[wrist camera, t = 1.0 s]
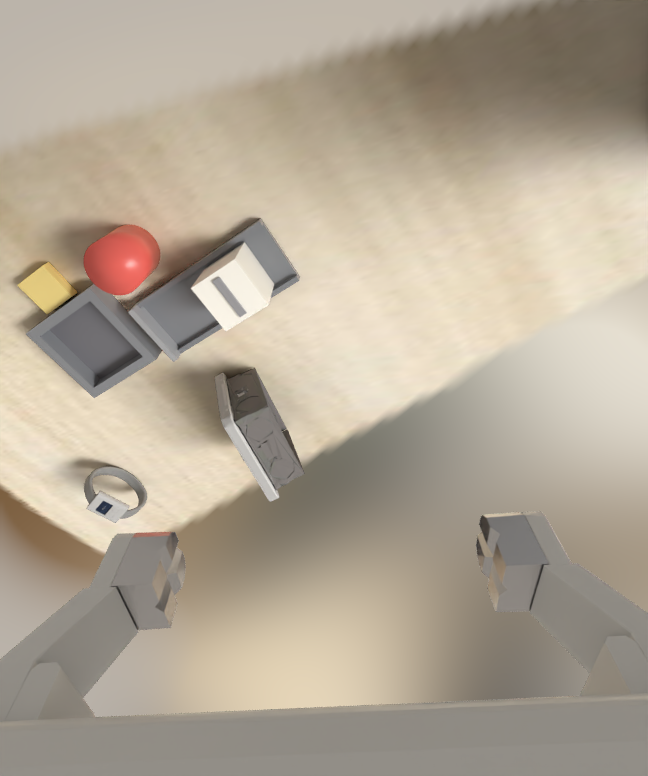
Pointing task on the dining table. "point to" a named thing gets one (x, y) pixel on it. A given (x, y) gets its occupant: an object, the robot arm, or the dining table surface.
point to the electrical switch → (257, 431)
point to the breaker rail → (186, 311)
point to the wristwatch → (108, 504)
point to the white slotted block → (234, 287)
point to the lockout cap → (122, 259)
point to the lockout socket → (87, 332)
